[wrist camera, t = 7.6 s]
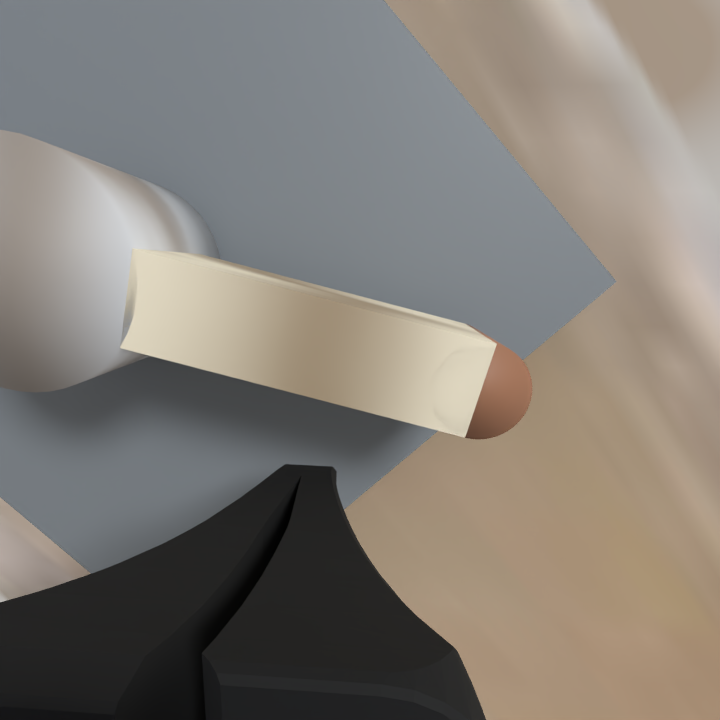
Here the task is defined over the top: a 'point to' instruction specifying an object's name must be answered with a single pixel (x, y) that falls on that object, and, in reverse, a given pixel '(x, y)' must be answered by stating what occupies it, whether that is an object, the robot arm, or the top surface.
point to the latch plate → (266, 238)
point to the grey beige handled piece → (213, 307)
